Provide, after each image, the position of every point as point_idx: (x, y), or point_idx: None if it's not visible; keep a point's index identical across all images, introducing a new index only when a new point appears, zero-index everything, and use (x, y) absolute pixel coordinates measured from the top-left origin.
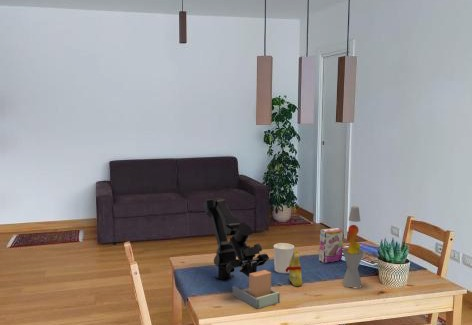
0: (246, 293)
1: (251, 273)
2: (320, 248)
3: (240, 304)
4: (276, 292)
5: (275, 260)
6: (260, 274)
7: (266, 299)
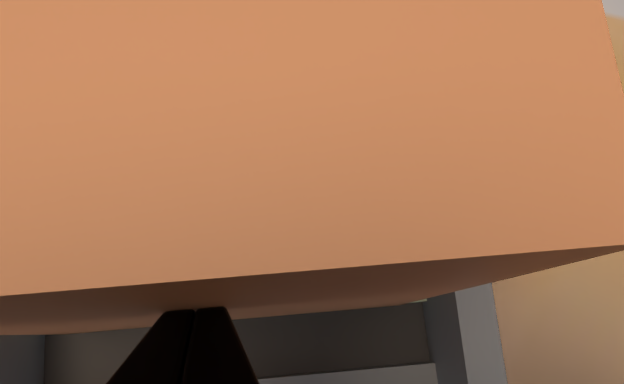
0: (478, 288)
1: (531, 200)
2: None
3: (549, 268)
4: None
5: None
6: None
7: None
